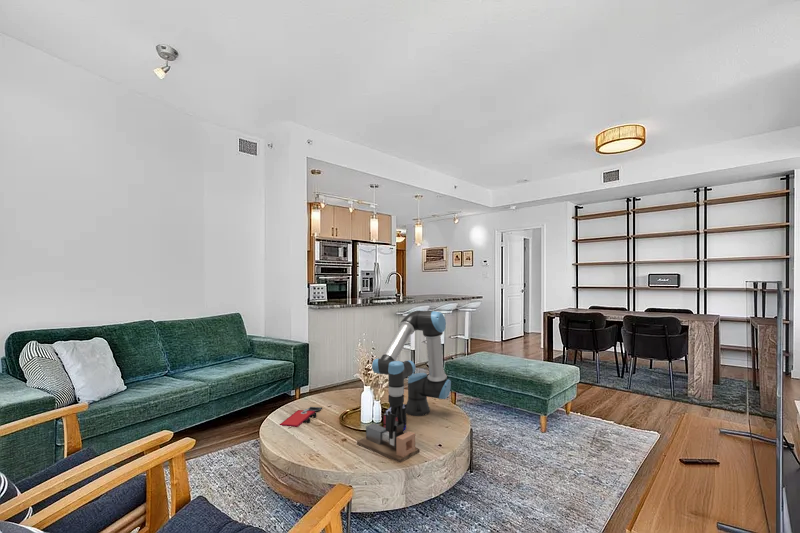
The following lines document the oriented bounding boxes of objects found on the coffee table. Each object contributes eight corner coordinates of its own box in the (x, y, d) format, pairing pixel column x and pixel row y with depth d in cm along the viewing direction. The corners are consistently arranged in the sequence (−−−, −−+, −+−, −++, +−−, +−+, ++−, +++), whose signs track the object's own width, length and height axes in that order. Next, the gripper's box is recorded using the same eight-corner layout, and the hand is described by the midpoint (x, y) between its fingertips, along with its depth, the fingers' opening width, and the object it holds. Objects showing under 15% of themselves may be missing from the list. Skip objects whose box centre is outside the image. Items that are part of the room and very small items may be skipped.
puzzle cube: (400, 436, 202) (400, 416, 203) (383, 433, 206) (382, 414, 206) (406, 428, 212) (406, 410, 212) (389, 426, 215) (389, 408, 215)
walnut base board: (376, 435, 203) (376, 432, 203) (419, 451, 184) (419, 448, 184) (356, 444, 193) (356, 441, 193) (400, 462, 174) (400, 459, 174)
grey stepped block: (373, 436, 199) (373, 423, 199) (387, 441, 192) (387, 428, 192) (366, 439, 195) (366, 426, 195) (380, 445, 188) (380, 431, 188)
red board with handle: (325, 409, 243) (303, 407, 246) (325, 404, 243) (303, 403, 246) (303, 428, 213) (279, 427, 217) (303, 423, 213) (279, 422, 217)
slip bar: (381, 435, 195) (381, 415, 195) (407, 445, 183) (407, 424, 183) (374, 438, 191) (374, 418, 191) (400, 449, 179) (400, 427, 180)
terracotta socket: (408, 447, 185) (408, 431, 185) (415, 450, 183) (415, 433, 183) (396, 454, 179) (396, 437, 179) (402, 457, 176) (402, 439, 176)
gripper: (402, 388, 194) (402, 434, 194) (377, 397, 181) (377, 446, 180) (414, 391, 189) (414, 438, 189) (389, 400, 176) (389, 451, 175)
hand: (396, 442), depth 185 cm, fingers closed on slip bar, 5 cm apart
